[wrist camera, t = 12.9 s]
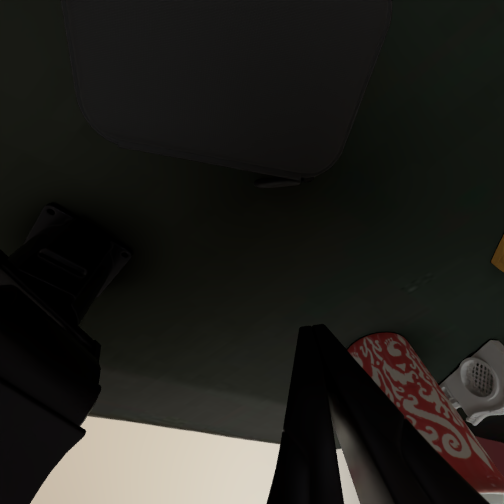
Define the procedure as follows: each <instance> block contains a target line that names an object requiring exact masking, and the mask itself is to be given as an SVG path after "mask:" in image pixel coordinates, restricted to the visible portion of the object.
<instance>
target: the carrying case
mask: <svg viewBox="0 0 504 504" xmlns="http://www.w3.org/2000/svg"><path fill="white" fill-rule="evenodd" d="M61 5H62V11H63V18H64V24H65V30H66V37H67V43H68V49H69V55H70V62H71V68H72V74H73V81H74V87H75V93H76V99H77V103H78V106H79V108H80V110H81V112H82V114H83V116H84V117H85V119H86V120H87V122H88V123H89V124H90V126H91V127H92V128H93V129H94V130H95V131H96V132H97V133H98V134H100V135H101V136H102V137H104V138H105V139H107V140H108V141H110V142H113V143H115V144H118V147H119V148H124V149H132V150H138V151H143V152H148V153H154V154H159V155H165V156H170V157H175V158H181V159H186V160H191V161H197V162H202V163H207V164H213V165H218V166H223V167H229V168H234V169H240V170H245V171H250V172H256V173H261V174H266V175H272V176H277V177H275V178H262V179H258V180H256V181H255V182H254V185H255V186H256V187H258V188H275V187H285V186H296V185H300V183H301V182H310V181H312V180H313V179H314V177H315V176H317V175H320V174H322V173H324V172H325V171H327V170H328V169H329V168H330V167H332V166H333V165H334V164H335V162H336V161H337V160H338V159H339V157H340V156H341V154H342V152H343V150H344V147H345V144H346V142H347V139H348V136H349V134H350V131H351V128H352V126H353V123H354V120H355V118H356V115H357V112H358V110H359V107H360V104H361V102H362V99H363V96H364V94H365V91H366V88H367V85H368V83H369V80H370V77H371V75H372V72H373V69H374V67H375V64H376V61H377V59H378V56H379V53H380V51H381V48H382V45H383V43H384V40H385V37H386V35H387V32H388V29H389V26H390V22H391V16H392V0H61ZM301 180H302V181H301Z"/></svg>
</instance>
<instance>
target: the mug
mask: <svg viewBox="0 0 504 504" xmlns="http://www.w3.org/2000/svg"><path fill="white" fill-rule="evenodd" d="M347 351H348V352H349V353H350V354H351V355H352V356H353V358H354V359H355V360H356V361H357V362H358V363H359V364H360V366H361V367H362V368H363V369H364V370H365V371H366V372H367V374H368V375H369V376H370V377H371V378H372V379H373V380H374V382H375V383H376V384H377V385H378V386H379V387H380V388H381V389H382V391H383V392H384V393H385V394H386V395H387V396H388V397H389V399H390V400H391V401H392V402H393V403H394V404H395V405H396V407H397V408H398V409H399V410H400V411H401V412H402V413H403V415H404V416H405V418H407V419H408V420H409V421H410V422H411V424H412V425H413V426H414V427H415V428H416V429H417V430H418V431H419V433H420V434H421V435H422V436H423V437H424V438H425V439H426V440H427V441H428V442H429V443H430V445H431V446H432V447H433V448H434V449H435V450H436V451H437V452H438V453H439V454H440V455H441V456H442V457H443V458H444V459H445V460H446V461H447V462H448V463H449V464H450V465H451V466H452V467H453V468H454V469H455V470H456V471H457V472H458V473H459V474H460V475H461V476H462V477H463V478H464V479H465V480H466V481H467V482H468V483H469V484H470V485H471V486H472V487H473V488H474V489H475V490H476V491H477V492H478V493H479V494H481V495H482V496H483V497H484V498H485V499H486V500H487V501H488V502H489V503H490V504H504V477H503V476H502V474H501V473H500V472H499V470H498V469H497V467H496V466H495V465H494V463H493V462H492V460H491V459H490V458H489V456H488V455H487V453H486V452H485V450H484V449H483V447H482V446H481V445H480V443H479V442H478V441H477V439H476V437H475V436H474V435H473V433H472V432H471V431H470V429H469V428H468V426H467V425H466V424H465V422H464V421H463V419H462V418H461V416H460V415H459V414H458V412H457V411H456V409H455V408H454V406H453V405H452V404H451V402H450V401H449V399H448V398H447V397H446V395H445V393H444V392H443V391H442V389H441V388H440V387H439V385H438V384H437V382H436V381H435V379H434V378H433V377H432V375H431V374H430V372H429V371H428V370H427V368H426V367H425V365H424V364H423V363H422V361H421V360H420V358H419V357H418V356H417V354H416V353H415V351H414V350H413V348H412V347H411V345H410V344H409V343H408V341H407V340H406V339H405V338H404V337H402V336H401V335H399V334H395V333H388V332H385V333H376V334H371V335H369V336H366V337H363V338H361V339H359V340H358V341H356V342H355V343H354V344H352V345H351V346H350V347H349V349H348V350H347ZM405 418H404V419H405Z"/></svg>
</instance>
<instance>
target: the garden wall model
mask: <svg viewBox="0 0 504 504" xmlns="http://www.w3.org/2000/svg"><path fill="white" fill-rule="evenodd" d="M477 363H479V367H478V366H476V364H477ZM481 363H482V364H481ZM481 365H483V369H482V368H480V366H481ZM474 366H475V368H474V369H473V367H474ZM484 366H485V367H487V368H486V370H484ZM476 367H477V368H479V369H478V371H476ZM480 369H481V370H482V373H480ZM488 369H489V371H490V372H488ZM473 370H474V373H472V371H473ZM484 371H486V375H485V374H484ZM476 372H478V375H476V374H475V373H476ZM488 373H489V376H487V375H488ZM472 374H473V375H474V377H472ZM480 374H482V377H480V376H479V375H480ZM491 374H492V376H493V378H491ZM483 375H484V376H486V378H485V379H484V378H483ZM475 376H477V377H478V379H476V378H475ZM487 377H488V378H489V381H488V380H487ZM479 378H481V381H479ZM490 379H492V380H493V383H491V382H490ZM475 380H477V383H475ZM483 380H485V383H483ZM479 382H481V385H479ZM487 382H488V385H487ZM490 383H491V384H492V387H491V386H490ZM475 384H477V387H476V385H475ZM483 384H485V387H483V386H482V385H483ZM478 385H479V386H480V387H481V388H480V389H478ZM486 385H487V386H488V389H487V388H486ZM439 387H440V388H441V389H442V391H443V392H444V393H445V394H446V395H447V396H446V397H447V398H448V399H449V401H450V402H451V404H452V405H453V406H454V408H455V409H458V408H459V407H462V408H463V410H464V411H465V413H466V414H467V416H468V418H467V419H466V421H468V422H470V423H472V424H473V425H474V426H476V425H477V424H478V423H479V422H480V421H481V420H482V419H484V418H485V417H487V416H489V415H504V346H503V345H502V344H501V343H500V342H499V341H495V340H490V341H489V342H488V343H486V344H485V345H484V346H483V347H482V348H481V349H480V350H479V351H477V352H476V353H475V354H474V355H473V356H472V357H471V358H466V359H465V360H463V361H462V362H461V364H460V366H459V368H458V369H457V370H456V371H455V372H454V373H452V374H451V375H450V376H449V377H448V378H447V379H446V380H445V381H444V382H442V383H441V384H440V385H439ZM482 388H484V391H482ZM490 388H492V391H490V390H489V389H490ZM486 390H488V392H487V393H486ZM489 391H490V392H492V393H491V394H490V395H489ZM482 392H483V393H484V394H483V393H482ZM485 394H487V396H486V395H485Z"/></svg>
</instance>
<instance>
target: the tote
mask: <svg viewBox="0 0 504 504" xmlns="http://www.w3.org/2000/svg"><path fill="white" fill-rule="evenodd" d="M491 263H492V264H493V265H495V266H496V267H497V268H498V269H500V270H501V271H502V272H504V235H503V237H502V239H501V241H500V243H499V245H498V248H497V250H496V252H495V254H494V256H493V258H492V260H491Z"/></svg>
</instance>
